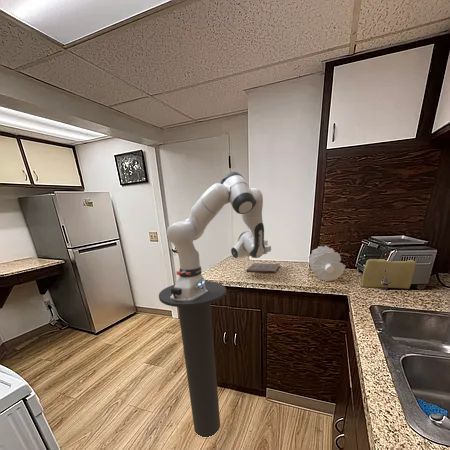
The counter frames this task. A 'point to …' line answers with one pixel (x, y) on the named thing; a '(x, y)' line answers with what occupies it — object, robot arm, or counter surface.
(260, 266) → the board
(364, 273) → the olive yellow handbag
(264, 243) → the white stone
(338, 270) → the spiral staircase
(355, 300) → the counter surface
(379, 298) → the counter surface
